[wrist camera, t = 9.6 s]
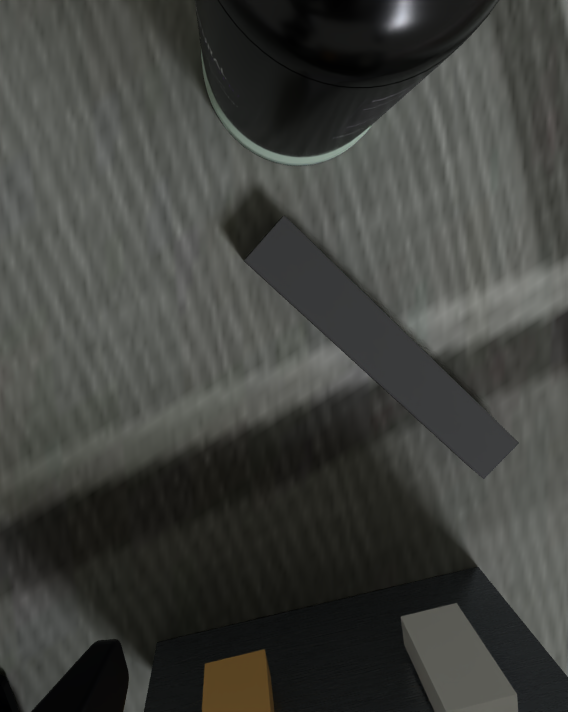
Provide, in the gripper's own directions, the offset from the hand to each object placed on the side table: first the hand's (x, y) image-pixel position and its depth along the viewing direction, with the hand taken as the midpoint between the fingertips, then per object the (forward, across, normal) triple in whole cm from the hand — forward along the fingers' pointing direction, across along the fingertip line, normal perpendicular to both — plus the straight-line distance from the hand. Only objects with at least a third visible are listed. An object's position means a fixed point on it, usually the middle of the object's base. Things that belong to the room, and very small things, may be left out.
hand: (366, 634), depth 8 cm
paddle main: (+7, +4, +10) cm, 13 cm away
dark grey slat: (+13, -3, -1) cm, 13 cm away
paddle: (+8, -4, +9) cm, 13 cm away
